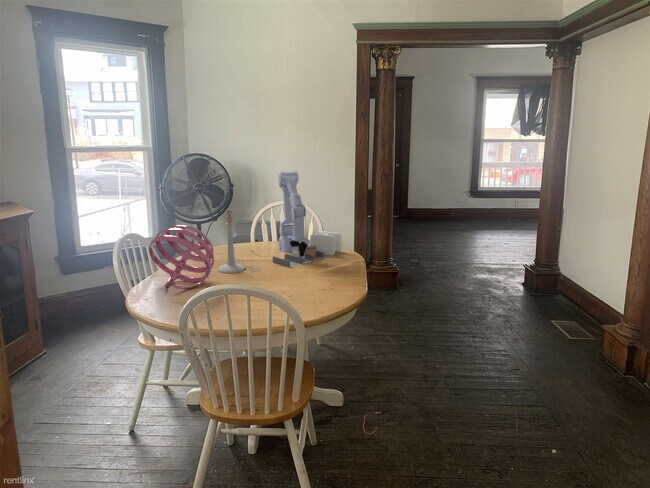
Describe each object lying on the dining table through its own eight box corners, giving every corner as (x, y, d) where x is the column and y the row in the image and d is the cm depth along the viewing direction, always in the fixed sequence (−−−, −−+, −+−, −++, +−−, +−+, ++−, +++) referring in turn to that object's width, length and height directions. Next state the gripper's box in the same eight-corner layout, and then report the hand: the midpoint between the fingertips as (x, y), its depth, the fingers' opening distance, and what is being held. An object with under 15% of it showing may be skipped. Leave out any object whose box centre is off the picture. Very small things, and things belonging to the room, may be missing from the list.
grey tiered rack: (271, 263, 254) (271, 256, 253) (307, 255, 271) (307, 247, 270) (289, 269, 244) (289, 261, 243) (325, 259, 261) (325, 252, 261)
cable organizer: (308, 254, 273) (308, 233, 270) (317, 250, 282) (317, 229, 279) (333, 257, 266) (333, 236, 263) (342, 253, 275) (342, 232, 272)
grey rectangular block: (292, 258, 257) (292, 246, 255) (299, 256, 260) (299, 245, 259) (297, 259, 254) (297, 248, 252) (304, 257, 257) (304, 246, 256)
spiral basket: (168, 255, 193) (199, 207, 210) (121, 263, 207) (153, 217, 224) (210, 300, 209) (236, 252, 226) (164, 304, 223) (191, 258, 241)
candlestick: (239, 274, 236) (236, 211, 229) (213, 272, 239) (210, 210, 232) (248, 266, 249) (246, 206, 242) (224, 265, 251) (221, 205, 244)
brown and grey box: (304, 257, 262) (304, 246, 261) (310, 255, 266) (310, 244, 265) (309, 258, 260) (309, 247, 258) (316, 256, 263) (316, 245, 262)
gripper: (283, 228, 256) (283, 254, 259) (302, 232, 246) (302, 259, 249) (293, 226, 261) (293, 252, 264) (313, 230, 251) (313, 256, 254)
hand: (298, 255), depth 257 cm, fingers closed on grey rectangular block, 4 cm apart
